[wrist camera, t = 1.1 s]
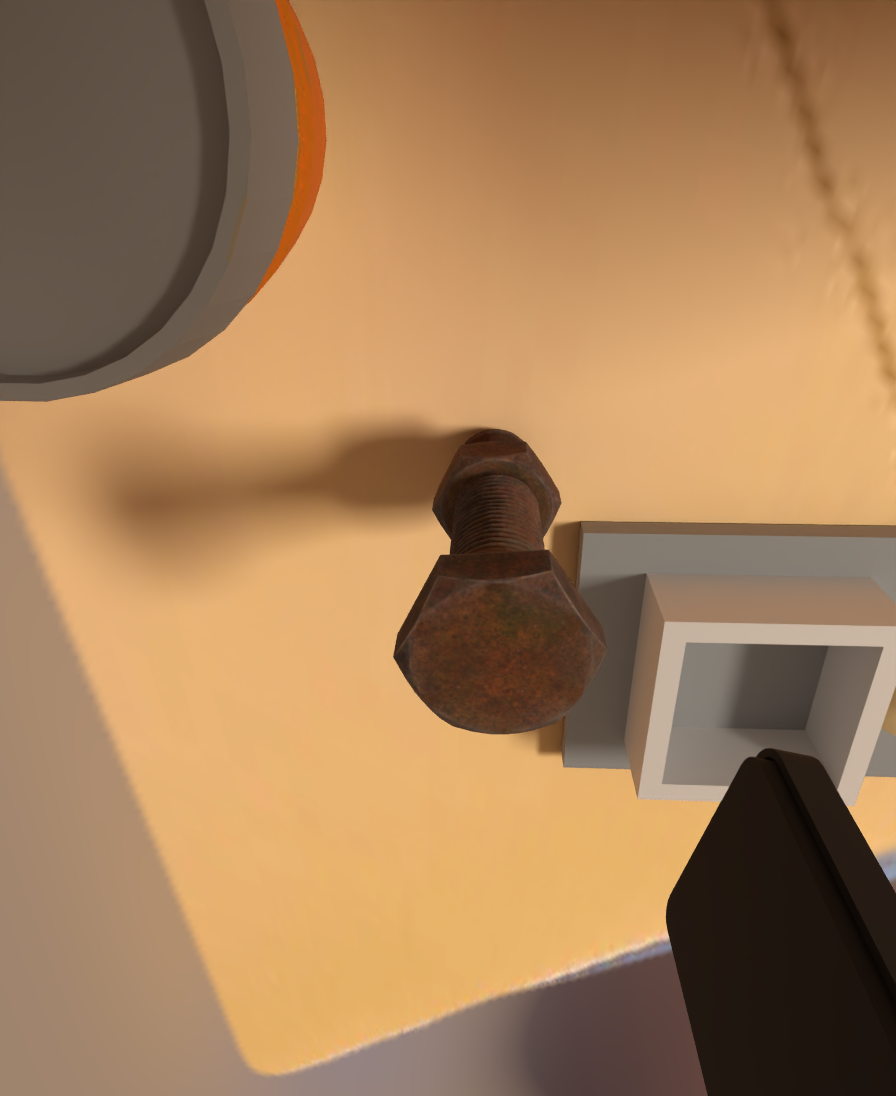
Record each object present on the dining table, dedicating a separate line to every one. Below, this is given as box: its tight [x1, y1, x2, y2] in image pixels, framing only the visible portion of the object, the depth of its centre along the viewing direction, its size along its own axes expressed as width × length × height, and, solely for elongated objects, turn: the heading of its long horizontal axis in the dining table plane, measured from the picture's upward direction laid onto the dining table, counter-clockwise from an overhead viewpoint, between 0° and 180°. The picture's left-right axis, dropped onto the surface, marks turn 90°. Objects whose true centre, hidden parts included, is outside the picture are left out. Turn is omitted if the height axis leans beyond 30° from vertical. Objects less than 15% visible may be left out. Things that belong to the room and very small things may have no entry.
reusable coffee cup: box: [0, 0, 326, 402], centre depth 21 cm, size 13×12×15 cm
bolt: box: [393, 429, 608, 734], centre depth 26 cm, size 6×5×15 cm
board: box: [562, 521, 896, 806], centre depth 34 cm, size 20×14×7 cm
